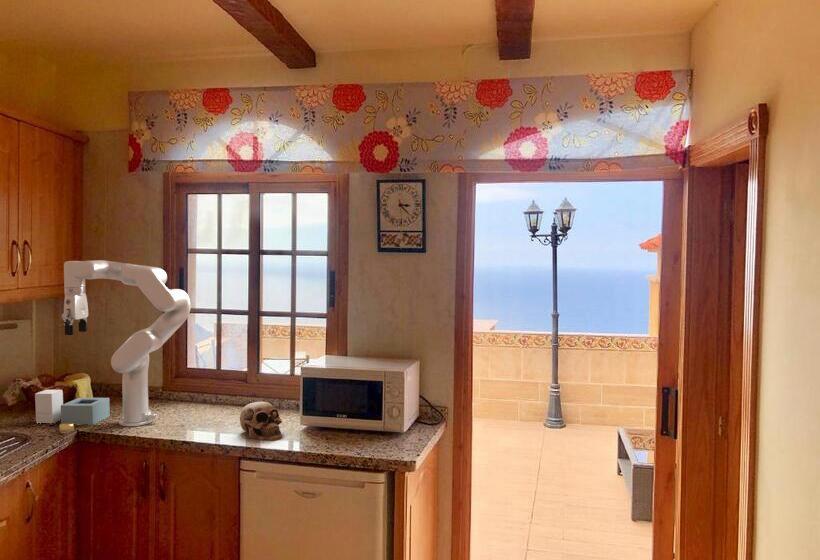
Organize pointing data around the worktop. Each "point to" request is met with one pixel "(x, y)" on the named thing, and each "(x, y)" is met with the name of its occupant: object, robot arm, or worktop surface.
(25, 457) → the worktop surface
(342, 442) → the worktop surface
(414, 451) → the worktop surface
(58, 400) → the supplement box
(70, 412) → the box
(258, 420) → the brown skull
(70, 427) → the yellow block
